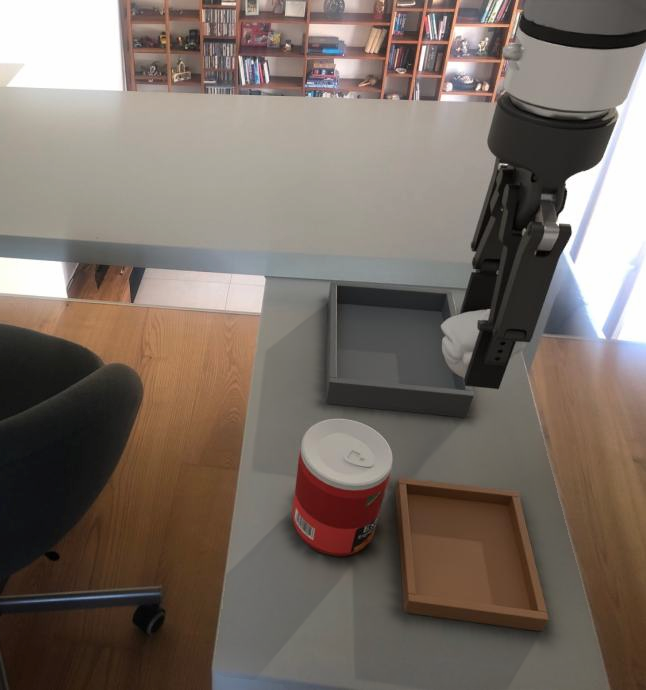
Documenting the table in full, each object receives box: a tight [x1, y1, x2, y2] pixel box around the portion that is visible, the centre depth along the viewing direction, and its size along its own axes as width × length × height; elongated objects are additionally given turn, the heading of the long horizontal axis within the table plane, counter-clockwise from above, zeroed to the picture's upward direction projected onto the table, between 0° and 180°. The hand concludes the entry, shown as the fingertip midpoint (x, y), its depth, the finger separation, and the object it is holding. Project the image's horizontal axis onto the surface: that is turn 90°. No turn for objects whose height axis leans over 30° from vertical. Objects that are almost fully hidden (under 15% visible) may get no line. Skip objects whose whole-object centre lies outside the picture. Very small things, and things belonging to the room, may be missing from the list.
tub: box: [325, 281, 475, 419], centre depth 85 cm, size 20×16×4 cm
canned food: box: [291, 418, 394, 557], centre depth 64 cm, size 8×8×11 cm
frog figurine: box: [441, 309, 528, 378], centre depth 60 cm, size 6×7×7 cm
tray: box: [394, 477, 550, 632], centre depth 64 cm, size 13×11×2 cm
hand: (475, 357), depth 61 cm, fingers closed on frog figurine, 6 cm apart
